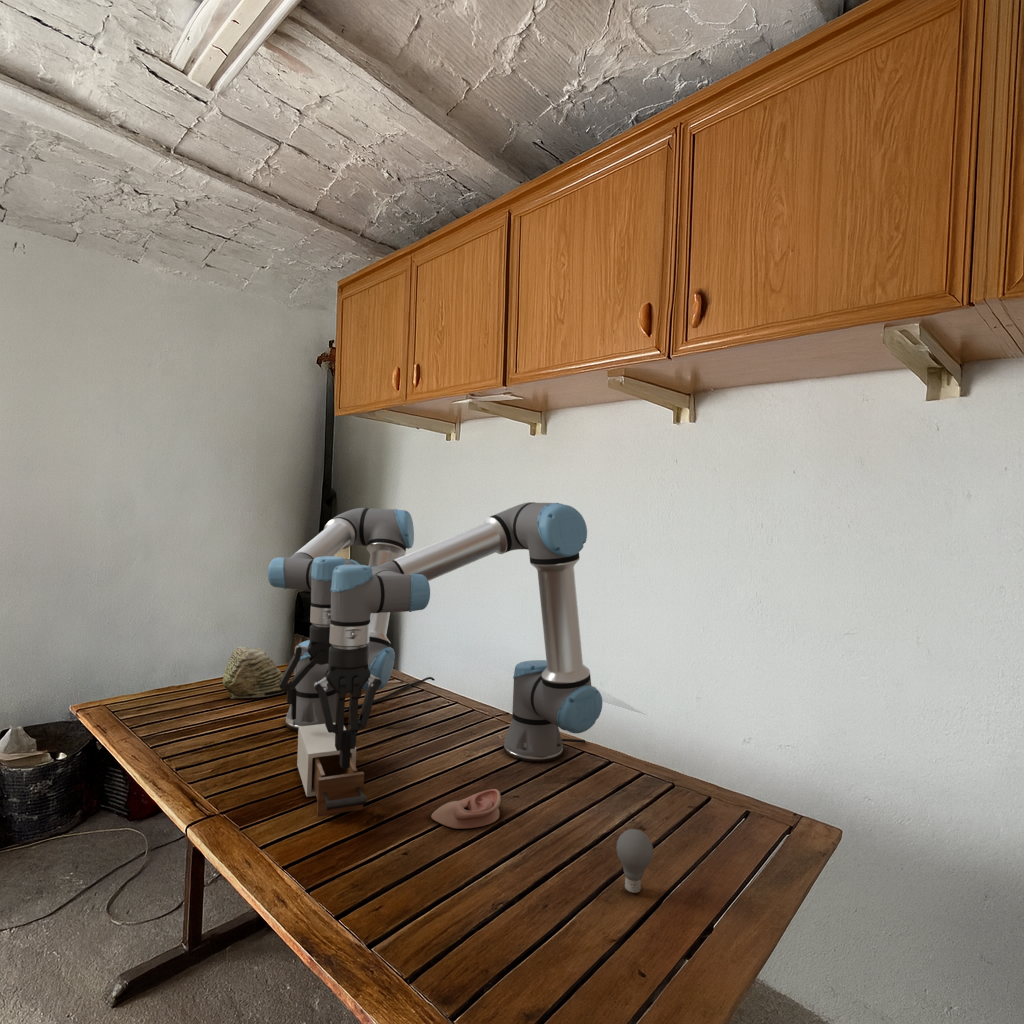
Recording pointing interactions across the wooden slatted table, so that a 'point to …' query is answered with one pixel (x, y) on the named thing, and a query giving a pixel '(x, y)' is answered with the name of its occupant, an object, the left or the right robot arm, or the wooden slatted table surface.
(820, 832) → the wooden slatted table surface
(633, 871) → the light bulb
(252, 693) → the fossil
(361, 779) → the drawer
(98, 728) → the wooden slatted table surface
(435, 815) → the anatomical model
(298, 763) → the cabinet
